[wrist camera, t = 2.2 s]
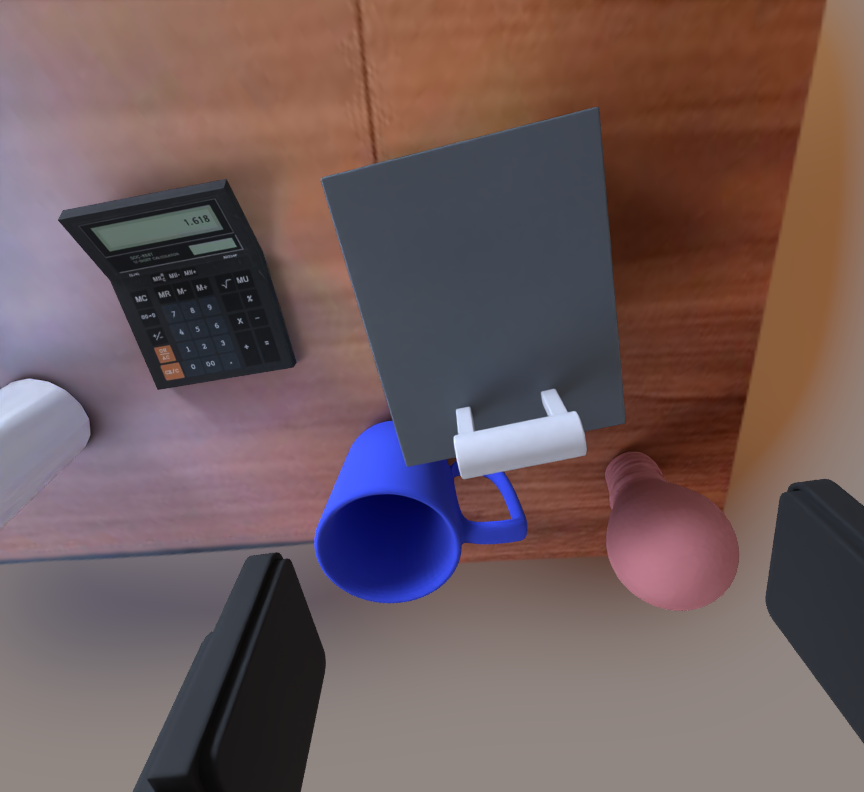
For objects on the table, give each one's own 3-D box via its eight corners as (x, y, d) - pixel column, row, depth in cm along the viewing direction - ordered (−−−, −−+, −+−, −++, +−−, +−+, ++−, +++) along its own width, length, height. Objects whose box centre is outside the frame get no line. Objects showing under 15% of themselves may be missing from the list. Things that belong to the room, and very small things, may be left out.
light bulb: (554, 482, 39) (602, 609, 28) (614, 408, 36) (693, 517, 26) (628, 520, 41) (701, 655, 30) (691, 452, 38) (796, 573, 27)
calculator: (163, 384, 35) (141, 403, 33) (87, 206, 31) (54, 211, 28) (296, 362, 35) (285, 380, 32) (240, 177, 30) (221, 179, 27)
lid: (620, 416, 25) (666, 478, 21) (407, 459, 26) (401, 529, 22) (593, 107, 20) (647, 92, 15) (323, 177, 21) (290, 184, 16)
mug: (506, 496, 40) (530, 598, 30) (348, 504, 40) (325, 608, 31) (506, 398, 36) (533, 481, 27) (333, 408, 36) (302, 493, 27)
